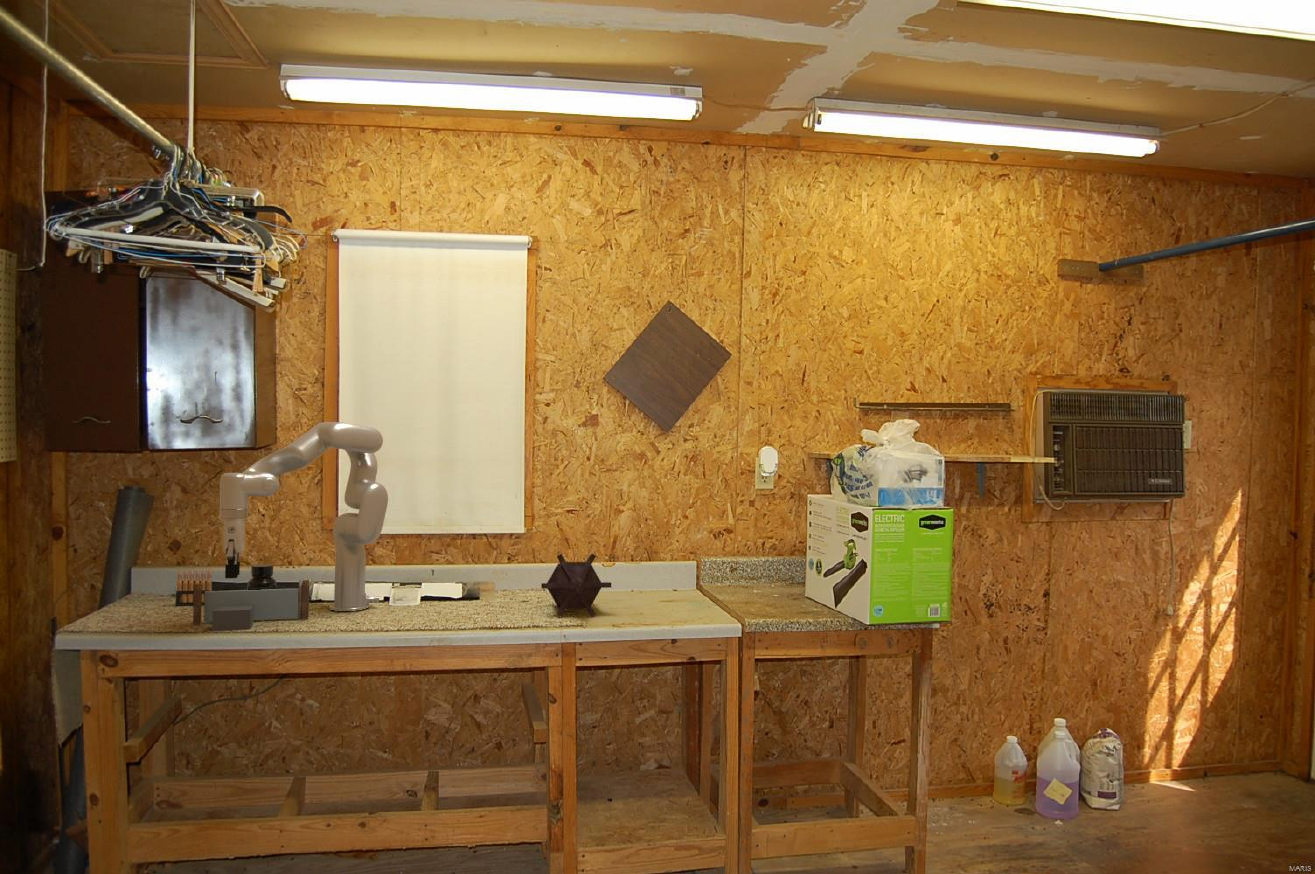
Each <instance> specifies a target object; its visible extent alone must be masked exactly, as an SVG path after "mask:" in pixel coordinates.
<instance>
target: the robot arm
mask: <svg viewBox="0 0 1315 874" xmlns="http://www.w3.org/2000/svg"><path fill="white" fill-rule="evenodd" d="M383 443H384V440H383V435H382V433H381V432H380V431H379V430H378V429H376V428H374V427H368V426H363V425H357V424H350V423H346V422H339V421H324V422H320V423H317V424H316V425H315V426H313V427H312V428H310V429H309V430H308V431H306V432H305V433H303V434H301V435H300V436H299V437H297V439H295V440H294V441H292V442H291V443H289V444H288V445H286V446H285V447H283V448H280V449H278V450H276V451H274V452H272V453H271V454H268V455H265V457H263V458H260V460H257V461H256V462H255V463H253V464H252V465H250V466H249V467H248V468H246V469H245V470H244V471H242V472H224V473H222V474H221V475H220V479H219V482H220V483H219V485H220V487H219V516H218V517H219V521H223V533H222V534H223V535H222V539H223V542H222V543H223V547H222V548H223V549H222V550H223V554H224V555H226V558H225V564H224V565H225V567H224V569H225V570H224V572H225V573H224V574H225V575H224V576H225V577H224V578H225V579H237V578H238V576H240V573H241V572H240V570H241V568H240V567H241V566H240V565H241V562H240V555H242V554H243V552H245V549H246V546H245V545H246V543H245V541H246V540H245V535H246V533H245V532H246V531H245V530H246V527H245V525H246V524H245V521H247V520H249V497H259V498H266V497H270V496H272V495H274V494H276V492H278V490H279V487H280V482H279V479H278V477H279V476H281V475H285V474H287V473H292V472H296V471H299V470H301V469H304V468H306V467H308V466H309V465H311V464H312V463H313V462H314V461H315V460H317V459H319V458H320V457H321V456H322V455H324V454H325V453H326V452H328V451H329V450H331V449H338V450H339V449H340V450H344V451H345V453H346V454H347V455H348V457H349V461H350V468H349V470H350V471H349V474H348V479H347V484H346V487H345V492H344V503H345V504H346V506H347V507H349V508H351V509H354V510H358V513H355V512H344V513H342V514H340V515H339V516H337V518H336V519H335V521H334V522H333V527H332V535H333V540H334V541H333V542H334V555H335V556H334V557H335V558H334V598H333V599H334V600H333V603H331V604H330V605H329V606H328V609H329V608H330V609H331V610H336V611H335V612H337V611H353V610H360V609H364V608H367V607H369V608H370V603H379V602H380V596H379V595H378V596H377V595H370V596H369V595H367V593H366V563H367V562H366V561H367V555H366V552H367V551H366V547H365V545H370V544H373V543H374V542H376V541H377V540H378V539H379V537H380V535H381V532H382V531H383V527H384V523H385V519H386V518H385V517H386V512H387V507H388V503H389V496H388V495H389V494H388V491H387V489H386V487H385V486H384V485H383V484H381V483H379V482H377V480H376V479H377V474H378V460H377V457H376V455H375V453H377V452H378V451H379V450H381V448H382V447H383ZM330 609H329V610H330ZM331 610H330V611H331ZM353 612H354V611H353Z"/></svg>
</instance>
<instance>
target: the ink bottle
mask: <svg viewBox="0 0 1315 874" xmlns="http://www.w3.org/2000/svg"><path fill="white" fill-rule="evenodd" d="M250 570H251V571H250V575H251V578H250V579H249V580H248V581H247V587H248V586H249V587H253V588H260V587H271V586H274V585H276V586H277V581H276V579H275V578H274V577H273V575H274V564H272V563H259V564H256V563H255V564H252V565H251V569H250Z"/></svg>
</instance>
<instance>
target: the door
mask: <svg viewBox="0 0 1315 874" xmlns="http://www.w3.org/2000/svg"><path fill="white" fill-rule="evenodd" d="M228 606H253V621H260V620H261V621H264V620H266V621H267V620H287V619H289V620H290V619H298V610H299V587H298V588H276V589H261V590H248V589H236V590H234V589H233V590H231V589H230V590H212V591H205V596H204V606H203V622H204V623H211V622H212V617H213V610H214V609H215V608H216V607H228Z"/></svg>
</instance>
